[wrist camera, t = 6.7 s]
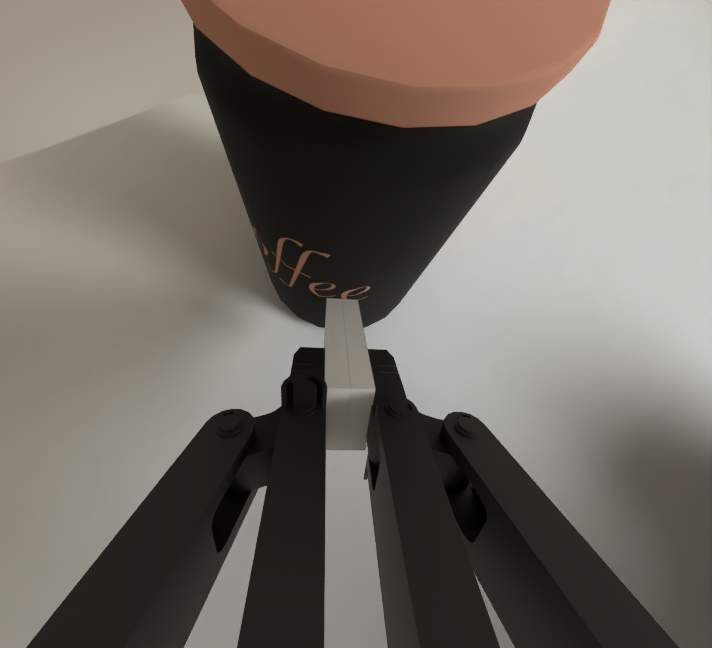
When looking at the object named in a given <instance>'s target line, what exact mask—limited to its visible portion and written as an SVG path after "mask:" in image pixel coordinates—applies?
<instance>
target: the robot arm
mask: <svg viewBox="0 0 712 648" xmlns="http://www.w3.org/2000/svg"><path fill="white" fill-rule="evenodd" d="M281 401H282V406H281V407H280V408H278V409H277V410H275V411H274V412H272V413H269V414H266V415H262V416H258V417H254V418H253V416H252V415H251V414H250V413H249V412H247V411H244V410H241V409H230V410H225V411H222V412H220V413H218V414H216V415H214V416H212V417H211V418H210V419H209V420H208V421H207V422H206V423H205V424H204V426H203V427H202V428H201V429H200V431H199V432H198V433H197V434H196V436H195V437H194V438H193V439H192V441H191V442H190V443H189V444H188V446H187V447H186V448H185V449H184V451H183V452H182V453H181V454H180V456H179V457H178V458H177V459H176V461H175V462H174V463H173V464H172V466H171V467H170V468H169V469H168V471H167V472H166V473H165V474H164V476H163V477H162V478H161V479H160V481H159V482H158V483H157V484H156V486H155V487H154V488H153V490H152V491H151V492H150V493H149V495H148V496H147V497H146V498H145V500H144V501H143V502H142V503H141V505H140V506H139V507H138V508H137V510H136V511H135V512H134V513H133V515H132V516H131V517H130V518H129V520H128V521H127V522H126V523H125V525H124V526H123V527H122V528H121V530H120V531H119V532H118V533H117V535H116V536H115V537H114V538H113V540H112V541H111V542H110V543H109V545H108V546H107V547H106V548H105V550H104V551H103V552H102V553H101V555H100V556H99V557H98V558H97V560H96V561H95V562H94V563H93V565H92V566H91V567H90V568H89V570H88V571H87V572H86V573H85V575H84V576H83V577H82V578H81V580H80V581H79V582H78V583H77V585H76V586H75V587H74V588H73V590H72V591H71V592H70V593H69V595H68V596H67V597H66V598H65V600H64V601H63V602H62V603H61V605H60V606H59V607H58V608H57V610H56V611H55V612H54V613H53V615H52V616H51V617H50V618H49V620H48V621H47V622H46V623H45V625H44V626H43V627H42V628H41V630H40V631H39V632H38V633H37V635H36V636H35V637H34V638H33V640H32V641H31V642H30V643H29V645H28V646H27V647H26V648H184V646H185V643H186V641H187V639H188V637H189V635H190V633H191V631H192V629H193V626H194V624H195V622H196V620H197V618H198V616H199V614H200V612H201V609H202V607H203V605H204V603H205V601H206V599H207V597H208V595H209V592H210V590H211V588H212V586H213V584H214V582H215V580H216V578H217V575H218V573H219V571H220V569H221V567H222V565H223V563H224V561H225V558H226V556H227V554H228V552H229V550H230V548H231V546H232V544H233V541H234V539H235V537H236V535H237V533H238V531H239V529H240V527H241V525H242V522H243V520H244V518H245V516H246V514H247V512H248V510H249V508H250V505H251V503H252V501H253V499H254V497H255V495H256V493H257V491H258V488H260V487H263V486H266V485H267V490H266V495H265V500H264V506H263V511H262V517H261V522H260V527H259V533H258V538H257V543H256V549H255V554H254V560H253V565H252V570H251V576H250V581H249V587H248V592H247V597H246V603H245V608H244V613H243V619H242V624H241V630H240V635H239V640H238V646H237V648H324V583H325V462H326V450H365V448H366V442H367V447H368V457H367V462H366V468H365V474H364V479H367V478H368V481H369V490H370V499H371V507H372V516H373V524H374V533H375V541H376V550H377V559H378V567H379V576H380V584H381V593H382V601H383V610H384V619H385V627H386V636H387V644H388V648H500V647H499V644H498V641H497V638H496V635H495V632H494V629H493V626H492V624H491V621H490V618H489V615H488V612H487V609H486V606H485V603H484V600H483V597H482V595H481V592H480V589H479V586H478V583H477V580H476V577H475V575H476V576H477V578H478V580H479V582H480V584H481V586H482V587H483V589H484V591H485V593H486V595H487V597H488V598H489V600H490V602H491V604H492V606H493V608H494V610H495V611H496V613H497V615H498V617H499V619H500V621H501V622H502V624H503V626H504V628H505V630H506V632H507V633H508V635H509V637H510V639H511V641H512V643H513V644H514V646H515V648H679V647H678V646H677V645H676V644H675V643H674V641H673V640H672V639H671V638H670V637H669V636H668V635H667V633H666V632H665V631H664V630H663V629H662V628H661V627H660V625H659V624H658V623H657V622H656V621H655V620H654V619H653V617H652V616H651V615H650V614H649V613H648V612H647V610H646V609H645V608H644V607H643V606H642V605H641V604H640V602H639V601H638V600H637V599H636V598H635V597H634V596H633V594H632V593H631V592H630V591H629V590H628V589H627V588H626V586H625V585H624V584H623V583H622V582H621V581H620V580H619V578H618V577H617V576H616V575H615V574H614V573H613V571H612V570H611V569H610V568H609V567H608V566H607V565H606V563H605V562H604V561H603V560H602V559H601V558H600V557H599V555H598V554H597V553H596V552H595V551H594V550H593V549H592V547H591V546H590V545H589V544H588V543H587V542H586V541H585V539H584V538H583V537H582V536H581V535H580V534H579V532H578V531H577V530H576V529H575V528H574V527H573V526H572V524H571V523H570V522H569V521H568V520H567V519H566V518H565V516H564V515H563V514H562V513H561V512H560V511H559V510H558V508H557V507H556V506H555V505H554V504H553V503H552V501H551V500H550V499H549V498H548V497H547V496H546V495H545V493H544V492H543V491H542V490H541V489H540V488H539V487H538V485H537V484H536V483H535V482H534V481H533V480H532V479H531V477H530V476H529V475H528V474H527V473H526V472H525V471H524V469H523V468H522V467H521V466H520V465H519V464H518V462H517V461H516V460H515V459H514V458H513V457H512V456H511V454H510V453H509V452H508V451H507V450H506V449H505V448H504V446H503V445H502V444H501V443H500V442H499V441H498V440H497V438H496V437H495V436H494V435H493V434H492V433H491V431H490V430H489V429H488V428H487V427H486V426H485V425H484V424H483V423H482V422H481V421H480V420H479V419H478V418H476V417H474V416H472V415H470V414H467V413H463V412H453V413H450V414H448V415H447V416H446V418H445V419H444V420H440V419H436V418H432V417H429V416H426V415H423V414H421V413H420V412H418V410H417V408H416V406H415V405H414V404H413V403H412V402H411V401H410V400H408V399H407V398H406V394H405V391H404V388H403V385H402V382H401V379H400V376H399V374H398V370H397V367H396V364H395V360H394V357H393V356H392V355H391V354H390V353H389V352H388V351H387V350H375V349H367V344H366V339H365V334H364V329H363V324H362V319H361V314H360V309H359V304H358V300H351V299H334V298H327V302H326V319H325V335H324V348H307V347H300V348H299V350H298V351H297V352H296V353H295V354H294V358H293V364H292V369H291V374H290V377H288V378H287V379H286V380H285V381H284V382H283V384H282V386H281ZM474 573H475V574H474Z"/></svg>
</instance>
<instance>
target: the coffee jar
mask: <svg viewBox="0 0 712 648" xmlns="http://www.w3.org/2000/svg"><path fill="white" fill-rule="evenodd" d="M181 1H182V3H183V5H184V6H185V8H186V10H187V12H188V14H189V15H190V17H191V19H192V21H193V27H194V43H195V57H196V64H197V71H198V75H199V78H200V80H201V83H202V86H203V89H204V92H205V95H206V97H207V100H208V103H209V106H210V109H211V112H212V114H213V117H214V120H215V123H216V126H217V129H218V131H219V134H220V137H221V140H222V143H223V145H224V148H225V151H226V154H227V157H228V160H229V162H230V165H231V168H232V171H233V174H234V177H235V179H236V182H237V185H238V188H239V191H240V193H241V196H242V199H243V202H244V205H245V208H246V210H247V213H248V216H249V219H250V222H251V225H252V227H253V230H254V233H255V236H256V239H257V242H258V244H259V247H260V250H261V253H262V256H263V258H264V261H265V264H266V267H267V270H268V273H269V275H270V278H271V281H272V283H273V285H274V287H275V289H276V291H277V293H278V295H279V297H280V299H281V301H283V302H284V303H285V304H286V305H287V306H288V307H289V308H290V309H291V310H292V311H293V312H294V313H295V314H296V315H297V316H298V317H300V318H302V319H304V320H306V321H308V322H310V323H312V324H314V325H316V326H318V327H323V328H325V319H326V302H327V298H334V299H351V300H358V304H359V309H360V314H361V319H362V324H363V327H367V326H369V325H371V324H373V323H375V322H377V321H379V320H381V319H383V318H385V317H386V316H387V315H388V314H389V313H390V312H391V311H392V310H393V309H394V308H395V307H396V306H397V305H398V304H399V303H400V301H401V300H402V299H403V297H404V296H405V295H406V294H407V292H408V291H409V290H410V288H411V287H412V286H413V284H414V283H415V282H416V280H417V279H418V278H419V276H420V275H421V274H422V272H423V271H424V270H425V268H426V267H427V266H428V264H429V263H430V262H431V260H432V259H433V258H434V256H435V255H436V254H437V252H438V251H439V250H440V249H441V247H442V246H443V245H444V243H445V242H446V241H447V239H448V238H449V237H450V235H451V234H452V233H453V231H454V230H455V229H456V227H457V226H458V225H459V223H460V222H461V221H462V219H463V218H464V217H465V215H466V214H467V213H468V211H469V210H470V209H471V208H472V206H473V205H474V204H475V202H476V201H477V200H478V198H479V197H480V196H481V194H482V193H483V192H484V190H485V189H486V188H487V186H488V185H489V184H490V182H491V181H492V180H493V178H494V177H495V176H496V174H497V173H498V172H499V170H500V169H501V168H502V166H503V165H504V164H505V163H506V161H507V160H508V159H509V157H510V156H511V155H512V153H513V152H514V151H515V149H516V148H517V147H518V145H519V144H520V142H521V140H522V138H523V136H524V134H525V132H526V129H527V127H528V124H529V122H530V119H531V117H532V114H533V111H534V109H535V106H536V104H537V102H538V101H539V100H540V99H541V98H542V97H543V96H544V95H545V94H546V93H547V92H549V91H550V90H551V89H552V88H553V87H554V86H555V85H556V84H557V83H559V82H560V81H561V80H562V79H563V78H564V77H565V76H566V75H567V74H569V73H570V72H571V70H572V69H573V68H574V67H575V66H576V64H577V63H578V62H579V61H580V60H581V59H582V57H583V56H584V55H585V54H586V53H587V51H588V50H589V49H590V48H591V47H592V46H593V44H594V43H595V42H596V41H597V39H598V37H599V34H600V32H601V28H602V25H603V22H604V19H605V16H606V13H607V10H608V7H609V4H610V1H611V0H181Z"/></svg>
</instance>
